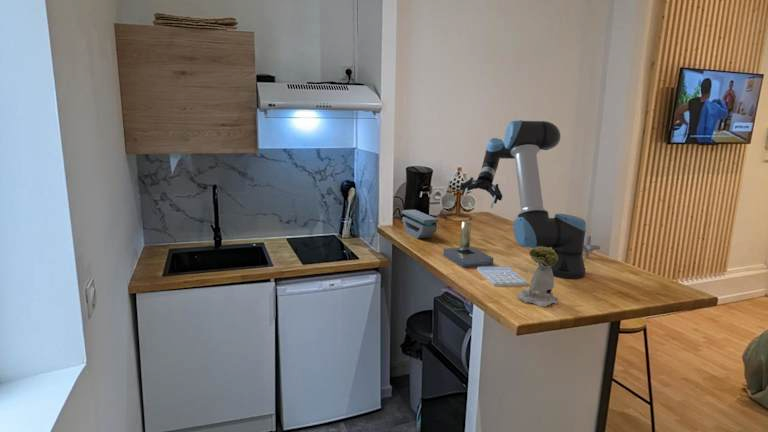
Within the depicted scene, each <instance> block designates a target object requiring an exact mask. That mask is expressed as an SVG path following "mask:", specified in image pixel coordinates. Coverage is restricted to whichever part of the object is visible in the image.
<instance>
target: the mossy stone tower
mask: <svg viewBox="0 0 768 432" xmlns="http://www.w3.org/2000/svg"><path fill="white" fill-rule="evenodd" d="M528 254H529V255H530V258H531V260H533V262H535V263H537V264H538V266H537V267H536V269H535V270H534V272H533V275H532V278H531V281H530V284H529V289H523V290H521V291H520V293H517V297H518V298H519V299H520V300H522V301H523V302H522V303H524V304H525V303H526V304H527V303H529V304H530V303H531V304H534V305H535V306H538V307H548V306H550V305H552V306H554V304H555V305H556V304H559V303H558V302H559V298H557V297H556V296H554V293H553V292H552V290H553V289H554V287H555V280H556V278H555V276H553V272H552V269H551V266H554V265H555V263H556V262H557V261H558V256H557V254H556V252H555V251H554V250H553V249H552V248H548V247H542V246H541V247H535V248H534V247H533V248H531V249H530V251H529V253H528ZM553 303H554V304H553Z"/></svg>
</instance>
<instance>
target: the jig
mask: <svg viewBox="0 0 768 432" xmlns="http://www.w3.org/2000/svg"><path fill="white" fill-rule="evenodd" d="M443 256H444V257H445V258H447V259H448V260H450V261H451V262H453V263H455V264H456V263H457V264H456V265H457V266H459V267H461V268H474V267H475V268H476V267H489V266H494V260H495V259H494V257H492V256H490V255H488V254H486V253H485V252H483V251H481V250H480V249H477V248H476V247H474V246H470V247H460V246H459V247H450V248H449V247H447V248H443Z"/></svg>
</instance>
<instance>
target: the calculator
mask: <svg viewBox="0 0 768 432" xmlns="http://www.w3.org/2000/svg"><path fill="white" fill-rule="evenodd" d="M476 270H477V272H479V274H480V275H482V276H483V277H484V279H486V281H487V282H489V283H490V284H491V286H493V285H494V286H493V287H526V286H528V283H529V282H527V280H525V278H523V277H522V276H520V275H519V274H518V273H517V272H515V270H513V269H512V268H511V267H509V266H506V265H505V266H503V265H502V266H494V265H491V266H477V269H476Z"/></svg>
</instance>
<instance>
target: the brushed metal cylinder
mask: <svg viewBox="0 0 768 432" xmlns="http://www.w3.org/2000/svg"><path fill="white" fill-rule="evenodd" d="M460 227H461V228H460V242H459V243H460V244H459V248H460V247H471V233H472V221H469V220H462V221H461V226H460Z"/></svg>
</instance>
